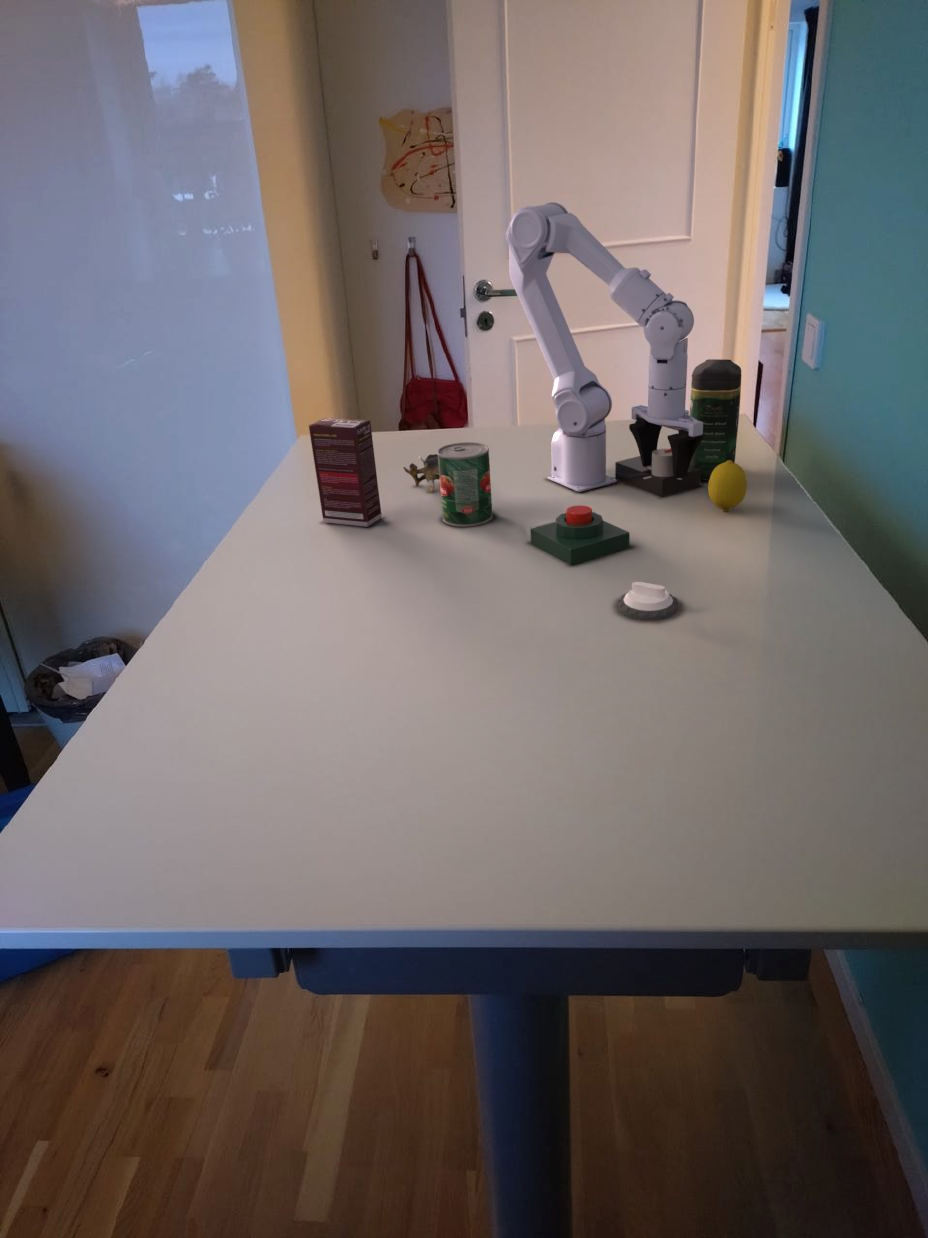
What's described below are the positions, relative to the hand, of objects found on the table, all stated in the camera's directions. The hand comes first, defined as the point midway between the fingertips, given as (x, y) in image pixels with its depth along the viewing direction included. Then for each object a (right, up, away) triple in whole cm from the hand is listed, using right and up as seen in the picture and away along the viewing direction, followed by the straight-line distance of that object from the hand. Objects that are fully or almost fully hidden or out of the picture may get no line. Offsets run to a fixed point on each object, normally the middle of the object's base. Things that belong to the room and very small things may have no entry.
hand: (664, 471), depth 144 cm
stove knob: (-10, -22, -35) cm, 43 cm away
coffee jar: (+10, +1, +8) cm, 13 cm away
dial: (0, 0, 0) cm, 0 cm away
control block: (-16, -13, -16) cm, 26 cm away
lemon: (+7, -8, -8) cm, 14 cm away
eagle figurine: (-37, -1, +11) cm, 38 cm away
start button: (-16, -10, -18) cm, 26 cm away
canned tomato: (-32, -8, -3) cm, 33 cm away
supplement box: (-50, -8, -1) cm, 51 cm away
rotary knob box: (0, -2, +4) cm, 5 cm away
